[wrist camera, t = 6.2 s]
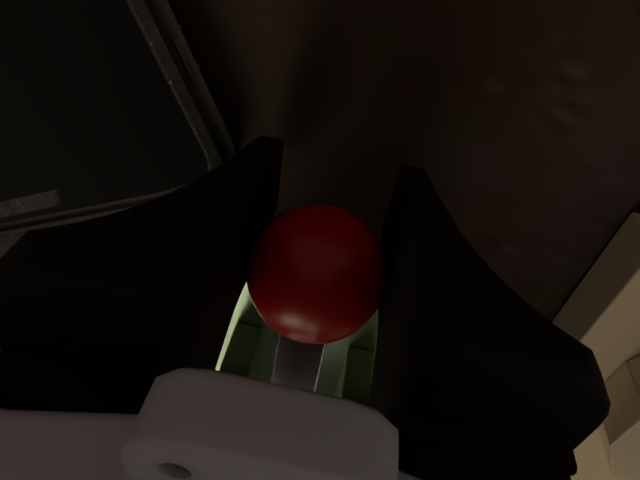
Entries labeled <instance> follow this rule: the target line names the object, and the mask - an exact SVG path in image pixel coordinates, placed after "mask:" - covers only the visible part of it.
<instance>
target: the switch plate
mask: <svg viewBox="0 0 640 480" xmlns="http://www.w3.org/2000/svg"><path fill="white" fill-rule="evenodd" d="M552 323H553V324H554V325H556V326H557V327H559V328H560V329H562V330H563V331H565V332H566V333H568V334H569V335H571V336H572V337H574V338H575V339H576V340H578V341H579V342H581V343H582V344H584V345H585V346H587V347H588V348H590V349H591V350H592V351H593V353H594V356H595V358H596V360H597V363H598V365H599V368H600V370H601V373H602V377H603V380H604V383H605V387H606V390H607V393H608V396H609V399H610V402H611V405H610V410H609V414H608V416H607V417H606V419H605V420H604V421H603V422H602V424H601V425H600V426H599V427H598V428H597V429H596V430H595V431H594V432H593V433H592V434H591V435H589V436H588V437H587V438H586V439H585V440H584V441H583V442H582V443H581V444H580V445H579V446H578V447H576V448H575V449H574V450H573V451H574V455H575V459H576V463H577V467H578V469H577V473H576V474H575V475H574V476H571V475H570V476H571V480H640V213H636V212H632V213H631V214H630V215H629V216H628V218H627V219H626V221H625V222H624V223H623V225H622V226H621V227H620V229H619V230H618V232H617V233H616V234H615V236H614V237H613V238H612V240H611V241H610V243H609V244H608V245H607V247H606V248H605V249H604V251H603V252H602V254H601V255H600V256H599V258H598V259H597V261H596V262H595V263H594V265H593V266H592V267H591V269H590V270H589V272H588V273H587V274H586V276H585V277H584V278H583V280H582V281H581V283H580V284H579V285H578V287H577V288H576V289H575V291H574V292H573V294H572V295H571V296H570V298H569V299H568V300H567V302H566V303H565V305H564V306H563V307H562V309H561V310H560V311H559V313H558V314H557V316H556V317H555V318H554V320H553V321H552Z"/></svg>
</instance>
